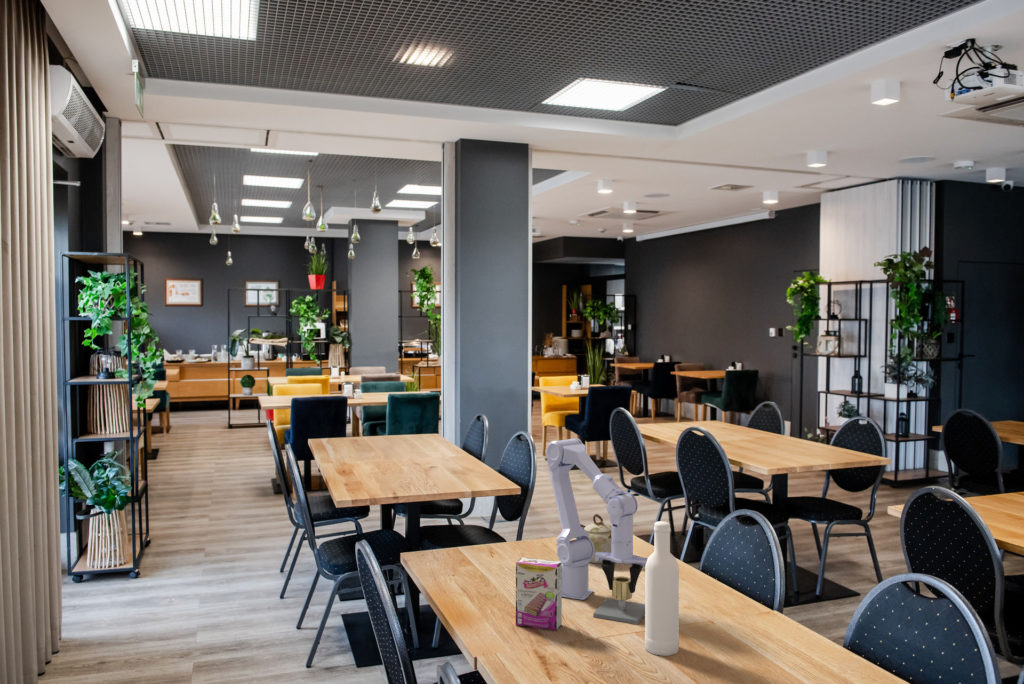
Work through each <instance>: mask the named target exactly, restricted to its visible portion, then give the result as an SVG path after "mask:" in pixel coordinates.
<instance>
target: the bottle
mask: <svg viewBox="0 0 1024 684" xmlns="http://www.w3.org/2000/svg"><path fill="white" fill-rule="evenodd" d="M653 525H654V526H653V531H654V533H653V536H654V537H653V538H654V539H653V542H654V543H653V544H654V545H653V548H654V549H653V550H654V551H653V552H652V553H651V554H650V555H649V556H648V557H647V558H648V559H647V562H646V565H645V567H644V568H645V569H644V570H645V574H644V577H645V579H644V581H645V582H644V583H645V584H644V586H645V587H644V589H645V591H644V594H645V595H644V596H645V597H644V598H645V599H644V600H645V601H644V602H645V603H644V604H645V616H644V620H645V621H644V622H645V623H644V626H645V627H644V648H645V650H646V651H647V652H648V653H650V654H653V655H655V656H663V657H667V656H673V655H676V654H677V653H678V652H679V650H680V649H679V648H680V647H679V645H680V637H679V635H680V630H679V629H680V627H679V626H680V625H679V622H680V618H679V617H680V614H679V613H680V612H679V611H680V602H679V601H680V568H679V564H678V561H677V559H676V557H675V556H674V555H673V554H672V553H671V530H672V529H671V524H670V523H669V522H668V521H662V520H661V521H660V520H659V521H658V520H657V521H655V522H654V524H653Z"/></svg>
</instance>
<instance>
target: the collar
mask: <svg viewBox="0 0 1024 684" xmlns="http://www.w3.org/2000/svg"><path fill="white" fill-rule="evenodd" d="M630 585H631V579H630V577H627V576H622V575H621V576H614V578H612V590H611V596H612V599H615V600H625V601H627V600H628V601H629V600H631V599H632V598H633V593H631V592H630Z"/></svg>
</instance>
